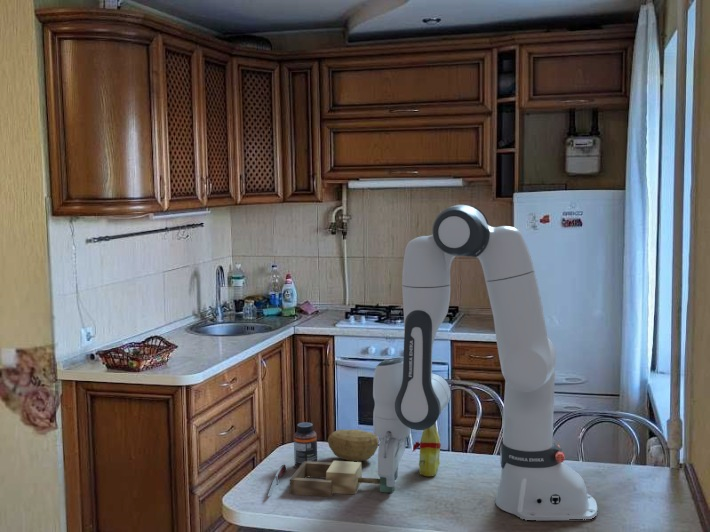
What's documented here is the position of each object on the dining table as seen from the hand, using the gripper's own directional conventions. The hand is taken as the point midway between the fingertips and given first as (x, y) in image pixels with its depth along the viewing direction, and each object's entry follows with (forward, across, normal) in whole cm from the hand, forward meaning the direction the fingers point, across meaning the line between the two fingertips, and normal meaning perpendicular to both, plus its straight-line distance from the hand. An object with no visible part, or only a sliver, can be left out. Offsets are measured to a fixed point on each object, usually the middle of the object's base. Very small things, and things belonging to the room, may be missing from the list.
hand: (392, 482), depth 196 cm
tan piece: (+2, 0, +18) cm, 18 cm away
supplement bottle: (+2, +12, +24) cm, 27 cm away
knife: (+2, -2, +28) cm, 28 cm away
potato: (+2, +19, +14) cm, 23 cm away
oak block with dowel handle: (+2, 0, +7) cm, 8 cm away
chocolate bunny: (+2, +15, -6) cm, 16 cm away
